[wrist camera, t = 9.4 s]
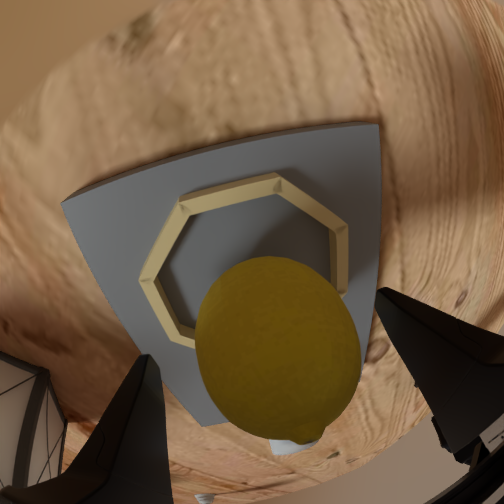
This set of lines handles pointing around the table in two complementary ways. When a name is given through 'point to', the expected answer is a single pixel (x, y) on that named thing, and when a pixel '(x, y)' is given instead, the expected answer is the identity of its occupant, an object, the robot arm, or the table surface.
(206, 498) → the chalice
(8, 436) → the lantern
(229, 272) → the lemon
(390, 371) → the table surface
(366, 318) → the board
